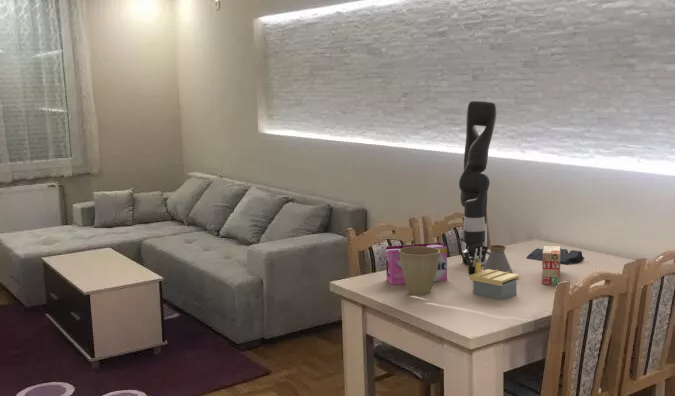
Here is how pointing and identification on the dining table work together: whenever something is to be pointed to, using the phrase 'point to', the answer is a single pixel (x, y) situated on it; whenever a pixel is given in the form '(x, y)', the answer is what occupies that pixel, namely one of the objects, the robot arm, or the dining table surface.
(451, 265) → the dining table surface
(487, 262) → the coffee pot
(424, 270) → the plant pot
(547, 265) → the stack of blocks
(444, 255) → the gum box
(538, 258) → the dark crumpled cloth
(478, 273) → the lid
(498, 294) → the tub
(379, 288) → the dining table surface
